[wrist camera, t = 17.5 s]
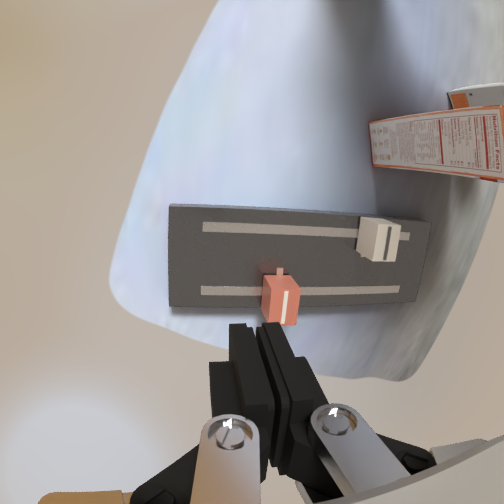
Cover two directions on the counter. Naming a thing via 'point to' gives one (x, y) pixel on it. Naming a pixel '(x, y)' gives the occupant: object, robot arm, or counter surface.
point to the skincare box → (477, 95)
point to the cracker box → (443, 142)
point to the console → (285, 256)
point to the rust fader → (280, 299)
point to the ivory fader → (378, 239)
